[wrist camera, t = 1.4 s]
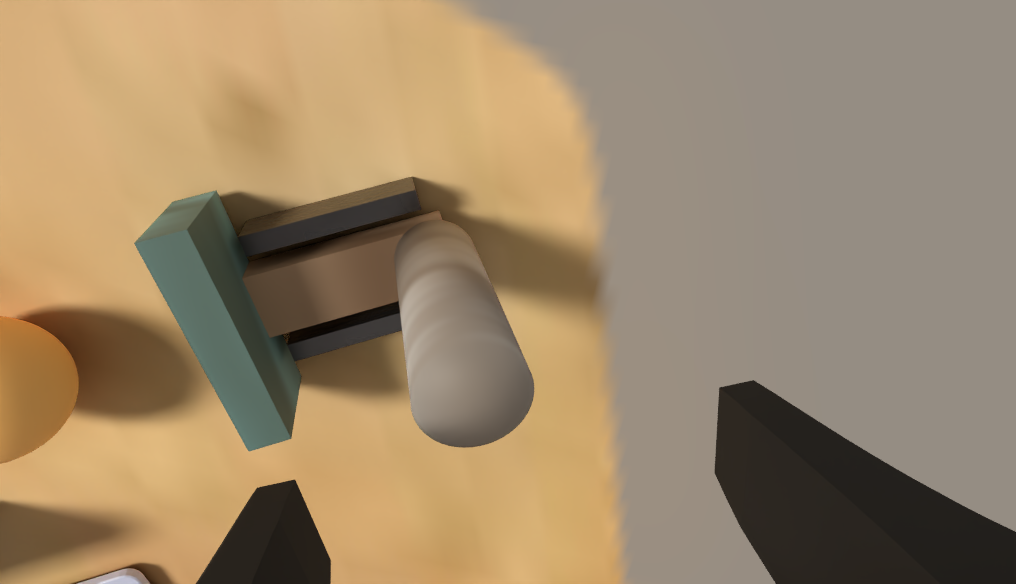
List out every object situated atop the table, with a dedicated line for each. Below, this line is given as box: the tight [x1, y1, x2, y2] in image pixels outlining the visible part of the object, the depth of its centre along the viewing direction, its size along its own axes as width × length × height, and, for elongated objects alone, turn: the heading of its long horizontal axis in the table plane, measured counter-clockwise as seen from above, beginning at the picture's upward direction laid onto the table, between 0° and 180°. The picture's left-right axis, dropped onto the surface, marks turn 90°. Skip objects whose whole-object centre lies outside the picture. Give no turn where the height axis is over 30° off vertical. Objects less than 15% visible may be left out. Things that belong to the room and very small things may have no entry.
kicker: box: [134, 191, 534, 451], centre depth 15 cm, size 8×6×8 cm
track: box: [238, 177, 421, 361], centre depth 18 cm, size 5×4×1 cm
